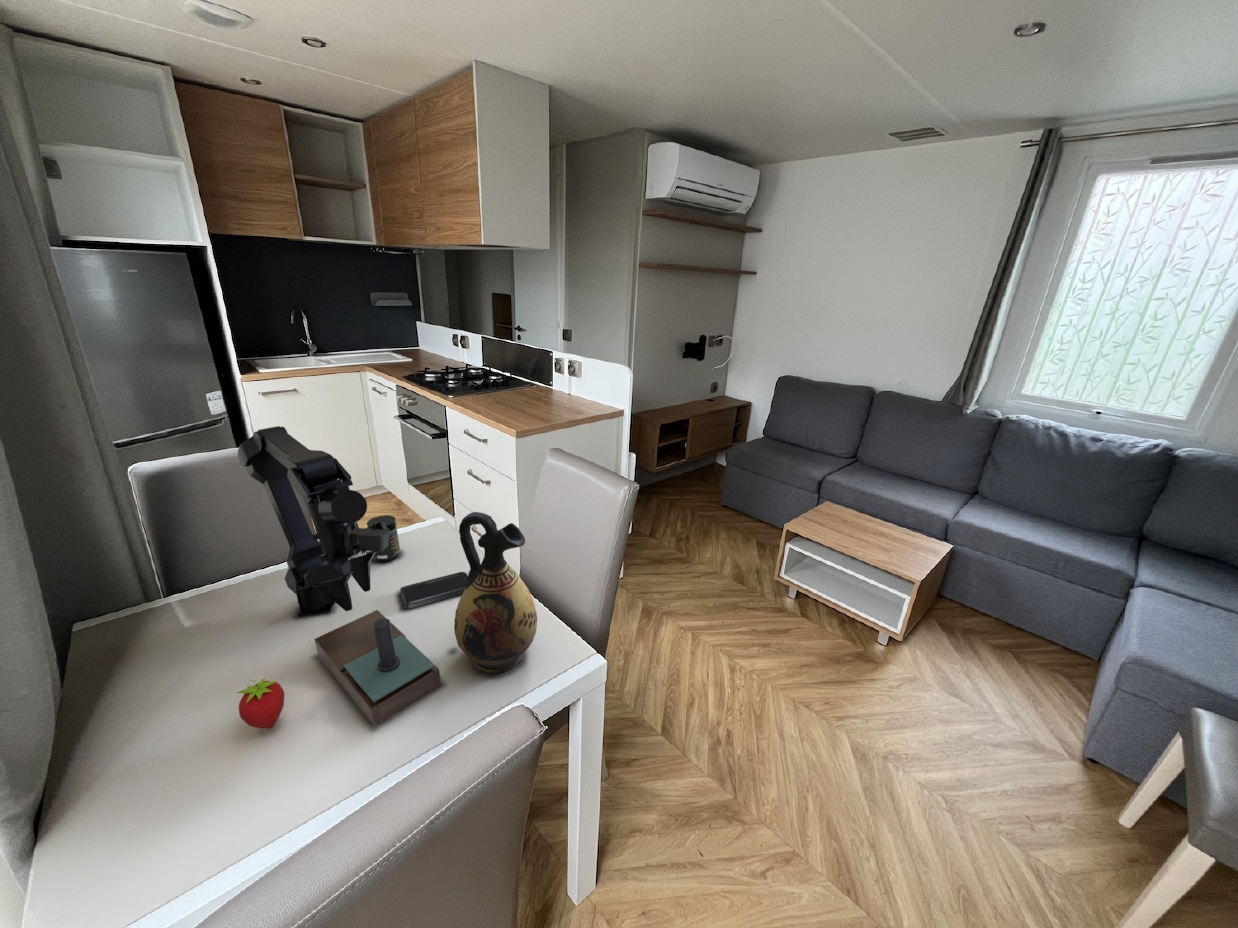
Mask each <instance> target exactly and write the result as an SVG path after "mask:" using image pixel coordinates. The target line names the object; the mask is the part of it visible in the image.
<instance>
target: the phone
mask: <svg viewBox="0 0 1238 928" xmlns="http://www.w3.org/2000/svg"><path fill="white" fill-rule="evenodd" d="M467 579H468V573H467V572H466V571H459V572H454V573H451V574H447V575H443V576H438V577H435V578H431V579H427V580H424V581H423V580H422V581H419V582H415V583H412V584H407V585H404V586H402V587H400V591H399V592H400V596H401V599H402V603H403V607H404V609H413V608H417V607H421V606H424V605H427V604H431V603H432V604H433V603H435V602H439V601H442V600H446V599H449V598H453V597H457V596H462V594H463V592H464V590H465V588H466V585H467Z"/></svg>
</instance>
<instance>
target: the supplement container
mask: <svg viewBox="0 0 1238 928" xmlns="http://www.w3.org/2000/svg"><path fill="white" fill-rule="evenodd" d="M377 521H378V522H385V524H386V526H387V529H389V532H390V533H391V536H389V541H388V547H386V548H385V549H384V551H382V552H376V553H375V555H374V556H373V558H372V559H373V560H374V561H375V562H377V563H389V562H392V561H395V560H396V559H398V558H399V556H400V555H401V553H402V552H401V545H400V539H399V533H398V526H397V524H398V523H397V519H396V517H395V516H393V515H388V514H385V515H383V514H382V515H378V516H374V517H372V518H370V519H369V520H368V521H367V522H366V528H367V527H370V528H371V527H372V526H373V524H374V523H376V522H377Z"/></svg>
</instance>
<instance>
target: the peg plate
mask: <svg viewBox="0 0 1238 928" xmlns="http://www.w3.org/2000/svg"><path fill="white" fill-rule="evenodd" d="M386 618H387V617H386ZM386 618H383V619H379V620H377V621H376V622H375V623H374V624H373V627H374V632H375V638H376V643H377V648H376V649H374V650H372V651H371V652H369V653H367V654H365V655H363V656H361V657H359V658H357V659H355V660H353V661H351V662H349V663H347V664H345V665H344V668H345V669H346V670H347V672H348V673H349V674H350V675H351V676H352V677H353V679H354V680H355V681H356V682H357V683H358V685H359V686H360V687H361V688H362V689H363V691H364V692H365V693H366V694H367V695H368V696H369V698H370V699H371V700H372V701H373V702H375V701H377V700H379V699H380V698H382V697H384V696H386V695H387V694H389V693H391V692H392V691H394V690H396V689H397V688H399V687H401V686H402V685H404V684H406V683H407V682H409V681H411V680H412V679H414V678H416V677H418V676H419V675H421V674H423V673H424V672H426V671H428V670H429V669H431V668H433V667H434V666H435V665H436V663H434V662H432V660H431V659H429V658H428V657H427V656H426V655H425V654H424V653H423V652H422V651H421V650H419V649H418V647H416V646H415V644H413V643H412V642H411V641H410V640H409V639H408V638H407V637H406V638H405V637H404V636H403V635H401V636H399V637H398V638H396V639H394V640H393V636H392V630H391V624H390V622H391V620H390V619H389V618H387V619H386Z"/></svg>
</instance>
